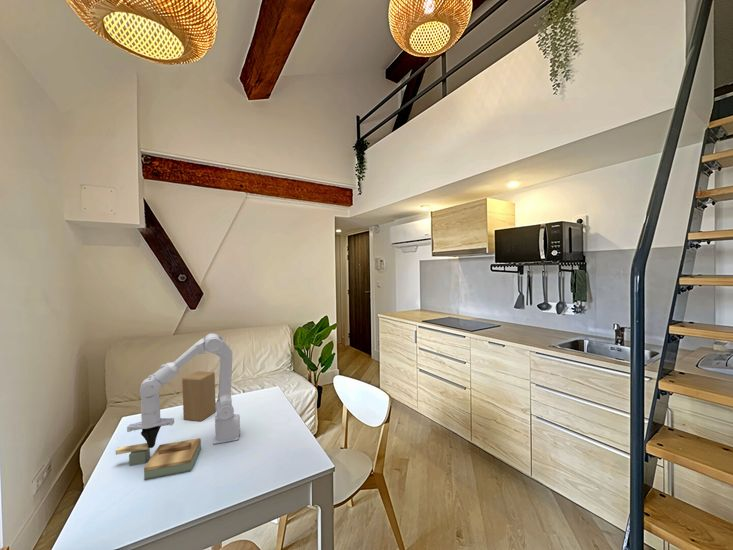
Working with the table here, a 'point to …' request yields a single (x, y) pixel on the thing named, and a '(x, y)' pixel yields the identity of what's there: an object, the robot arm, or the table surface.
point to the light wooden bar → (132, 448)
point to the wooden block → (198, 395)
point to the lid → (173, 454)
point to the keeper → (139, 457)
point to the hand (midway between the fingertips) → (152, 446)
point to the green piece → (172, 468)
